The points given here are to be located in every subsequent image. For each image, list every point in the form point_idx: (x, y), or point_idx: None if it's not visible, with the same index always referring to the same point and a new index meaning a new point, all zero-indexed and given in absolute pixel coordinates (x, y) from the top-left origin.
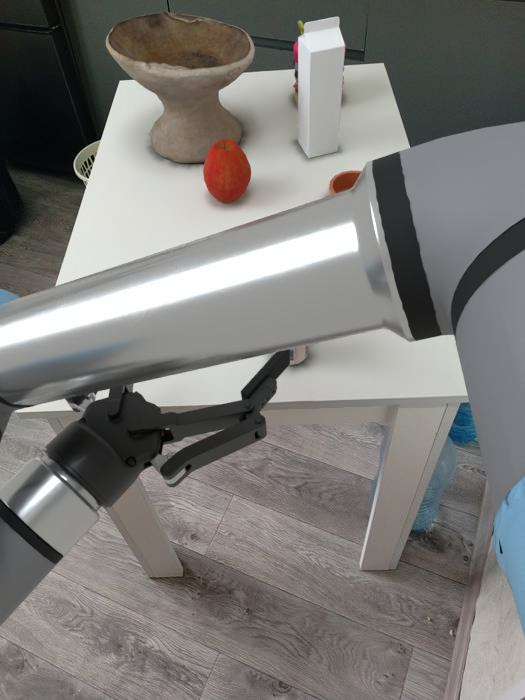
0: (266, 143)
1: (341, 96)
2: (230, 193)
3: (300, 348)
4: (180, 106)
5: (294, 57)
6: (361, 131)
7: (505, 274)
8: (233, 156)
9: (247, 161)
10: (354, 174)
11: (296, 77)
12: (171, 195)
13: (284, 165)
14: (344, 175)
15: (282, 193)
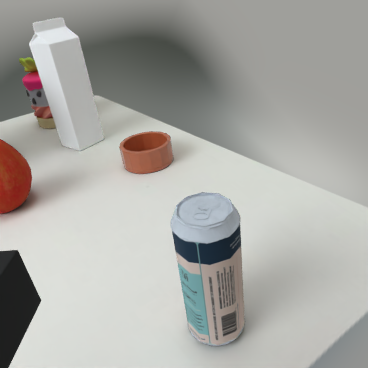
0: (30, 156)
1: (90, 85)
2: (13, 193)
3: (241, 302)
4: None
5: (27, 87)
6: (114, 123)
7: None
8: (2, 149)
9: (21, 155)
10: (137, 137)
11: (35, 103)
12: None
13: (59, 163)
14: (129, 140)
15: (72, 181)
